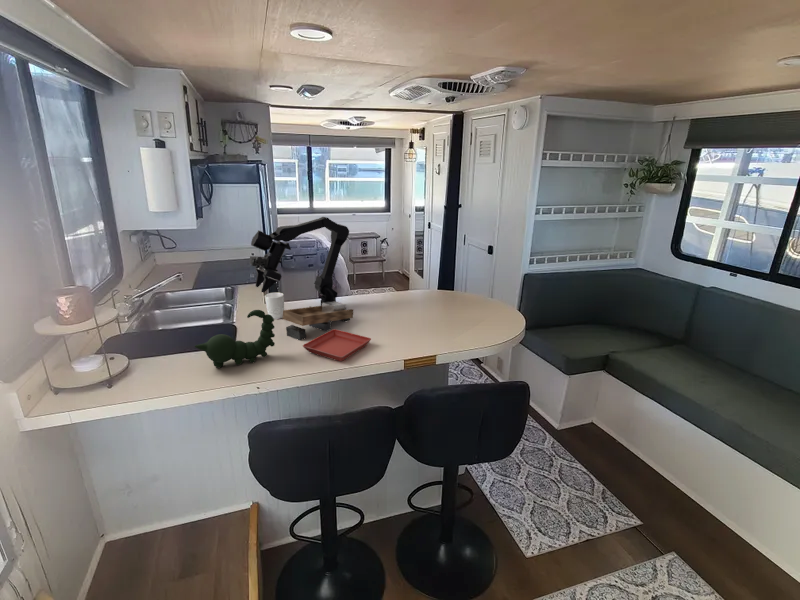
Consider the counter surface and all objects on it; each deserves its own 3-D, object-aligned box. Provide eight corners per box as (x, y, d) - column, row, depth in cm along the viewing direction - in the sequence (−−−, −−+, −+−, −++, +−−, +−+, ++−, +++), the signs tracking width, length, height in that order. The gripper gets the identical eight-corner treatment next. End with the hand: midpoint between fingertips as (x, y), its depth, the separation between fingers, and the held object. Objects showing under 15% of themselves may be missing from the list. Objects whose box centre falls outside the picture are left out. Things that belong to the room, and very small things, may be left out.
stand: (335, 315, 186) (335, 307, 185) (351, 320, 180) (351, 312, 179) (285, 334, 166) (284, 326, 165) (301, 341, 160) (300, 332, 159)
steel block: (333, 310, 182) (334, 301, 182) (345, 313, 178) (346, 304, 177) (321, 311, 177) (322, 302, 176) (333, 315, 173) (333, 305, 172)
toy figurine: (271, 354, 153) (195, 364, 142) (270, 304, 148) (191, 310, 137) (277, 364, 146) (197, 375, 134) (276, 312, 140) (193, 319, 129)
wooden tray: (332, 312, 186) (333, 303, 185) (353, 319, 178) (354, 309, 178) (281, 320, 165) (282, 309, 164) (303, 327, 157) (303, 316, 156)
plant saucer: (372, 345, 156) (372, 337, 155) (342, 365, 141) (341, 356, 140) (334, 336, 165) (333, 328, 164) (302, 354, 150) (301, 345, 149)
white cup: (281, 320, 181) (278, 298, 178) (264, 319, 182) (261, 297, 179) (288, 313, 188) (286, 292, 185) (272, 313, 190) (269, 292, 186)
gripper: (250, 243, 177) (235, 277, 178) (262, 251, 162) (246, 288, 163) (274, 254, 184) (260, 286, 184) (288, 262, 169) (272, 297, 169)
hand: (259, 289), depth 175 cm, fingers open, 9 cm apart
